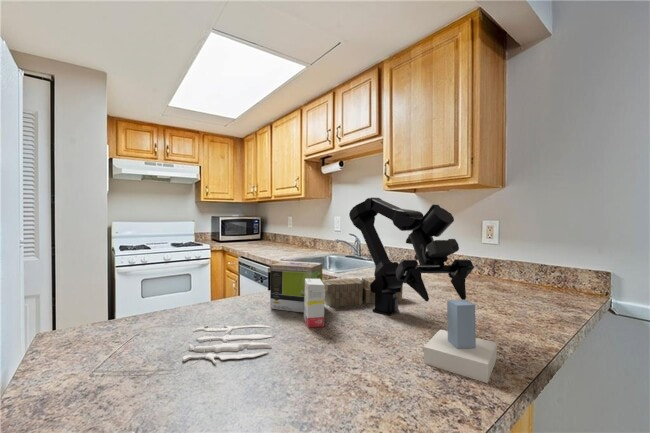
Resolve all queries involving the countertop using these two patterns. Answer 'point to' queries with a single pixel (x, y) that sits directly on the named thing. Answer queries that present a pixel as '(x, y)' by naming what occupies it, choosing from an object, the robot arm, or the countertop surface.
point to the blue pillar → (461, 323)
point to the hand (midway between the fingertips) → (446, 300)
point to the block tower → (350, 291)
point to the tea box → (291, 284)
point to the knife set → (219, 345)
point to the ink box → (314, 303)
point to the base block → (461, 357)
